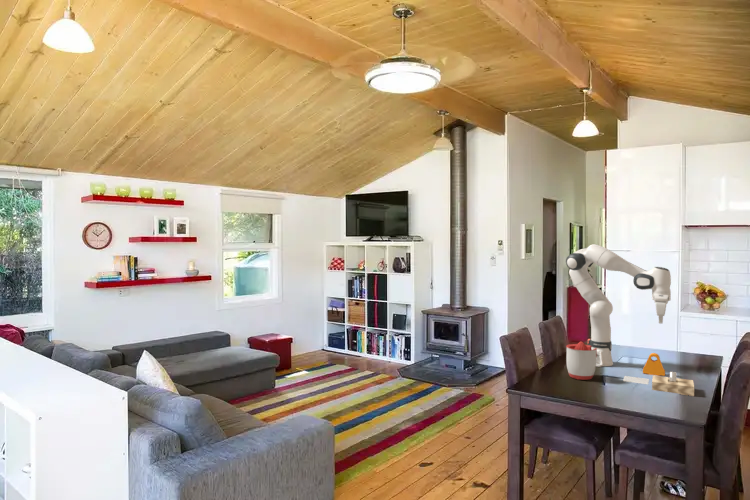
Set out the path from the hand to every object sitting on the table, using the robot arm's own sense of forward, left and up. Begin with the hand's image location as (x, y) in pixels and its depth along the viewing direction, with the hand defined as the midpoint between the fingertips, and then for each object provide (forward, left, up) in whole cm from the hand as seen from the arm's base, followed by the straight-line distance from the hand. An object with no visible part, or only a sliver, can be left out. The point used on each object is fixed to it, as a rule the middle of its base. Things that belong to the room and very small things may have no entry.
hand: (660, 322), depth 278 cm
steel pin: (+6, -20, -31) cm, 37 cm away
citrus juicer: (-37, -19, -31) cm, 52 cm away
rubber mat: (-11, -11, -31) cm, 35 cm away
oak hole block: (+6, -20, -31) cm, 37 cm away
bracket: (-3, +9, -31) cm, 33 cm away
